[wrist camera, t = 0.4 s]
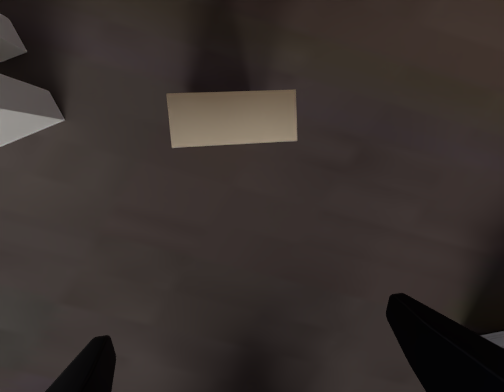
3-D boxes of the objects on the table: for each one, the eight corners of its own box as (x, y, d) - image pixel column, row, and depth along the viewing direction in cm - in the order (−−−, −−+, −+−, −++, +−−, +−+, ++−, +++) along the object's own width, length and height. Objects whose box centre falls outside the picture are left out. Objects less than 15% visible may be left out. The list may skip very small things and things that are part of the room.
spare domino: (255, 142, 22) (297, 140, 12) (186, 146, 21) (171, 147, 11) (253, 114, 22) (296, 89, 12) (183, 117, 21) (166, 93, 11)
